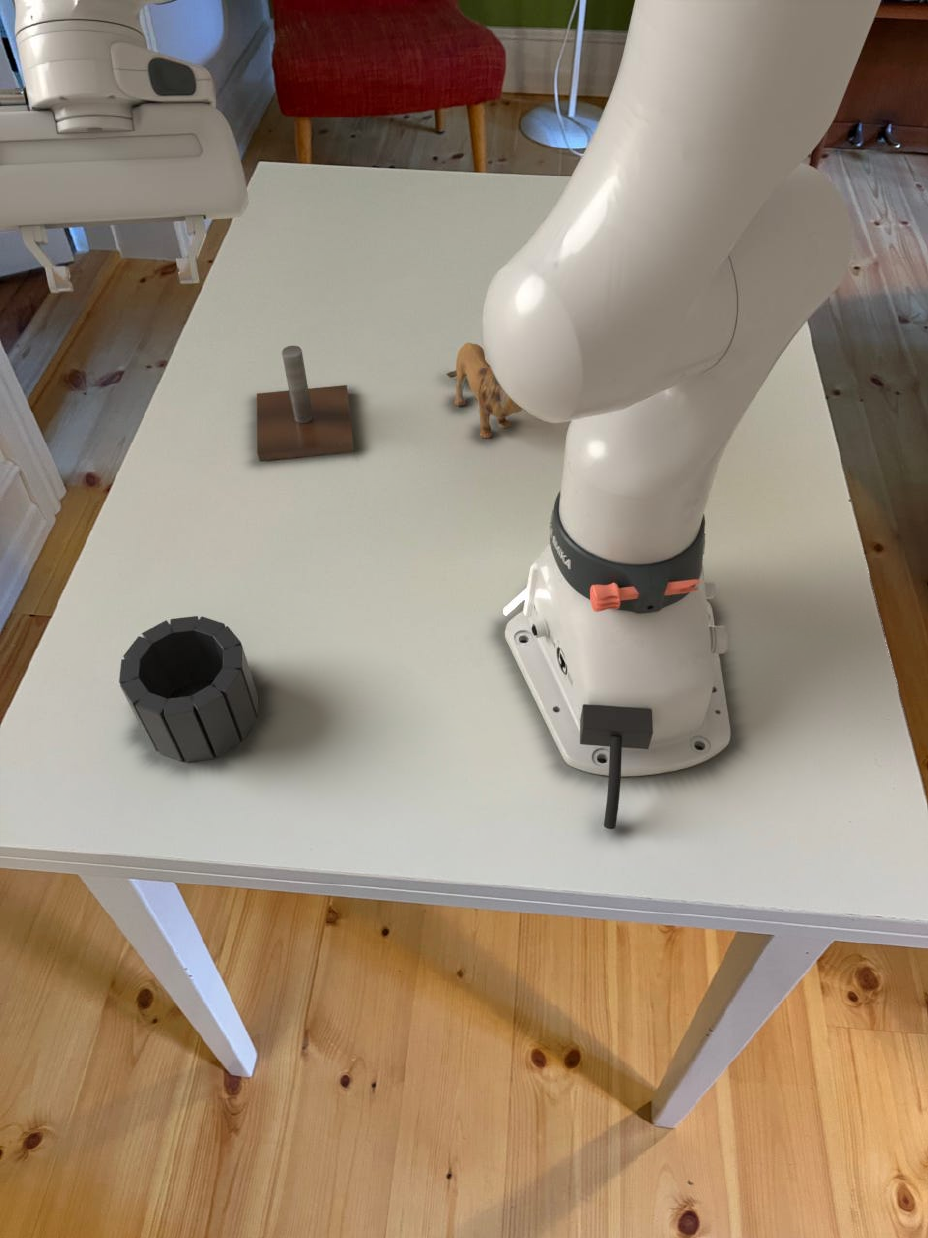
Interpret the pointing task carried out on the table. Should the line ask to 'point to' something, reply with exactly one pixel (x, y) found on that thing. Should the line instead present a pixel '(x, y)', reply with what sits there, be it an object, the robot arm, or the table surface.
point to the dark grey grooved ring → (177, 662)
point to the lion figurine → (482, 388)
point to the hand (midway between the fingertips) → (126, 287)
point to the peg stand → (302, 416)
